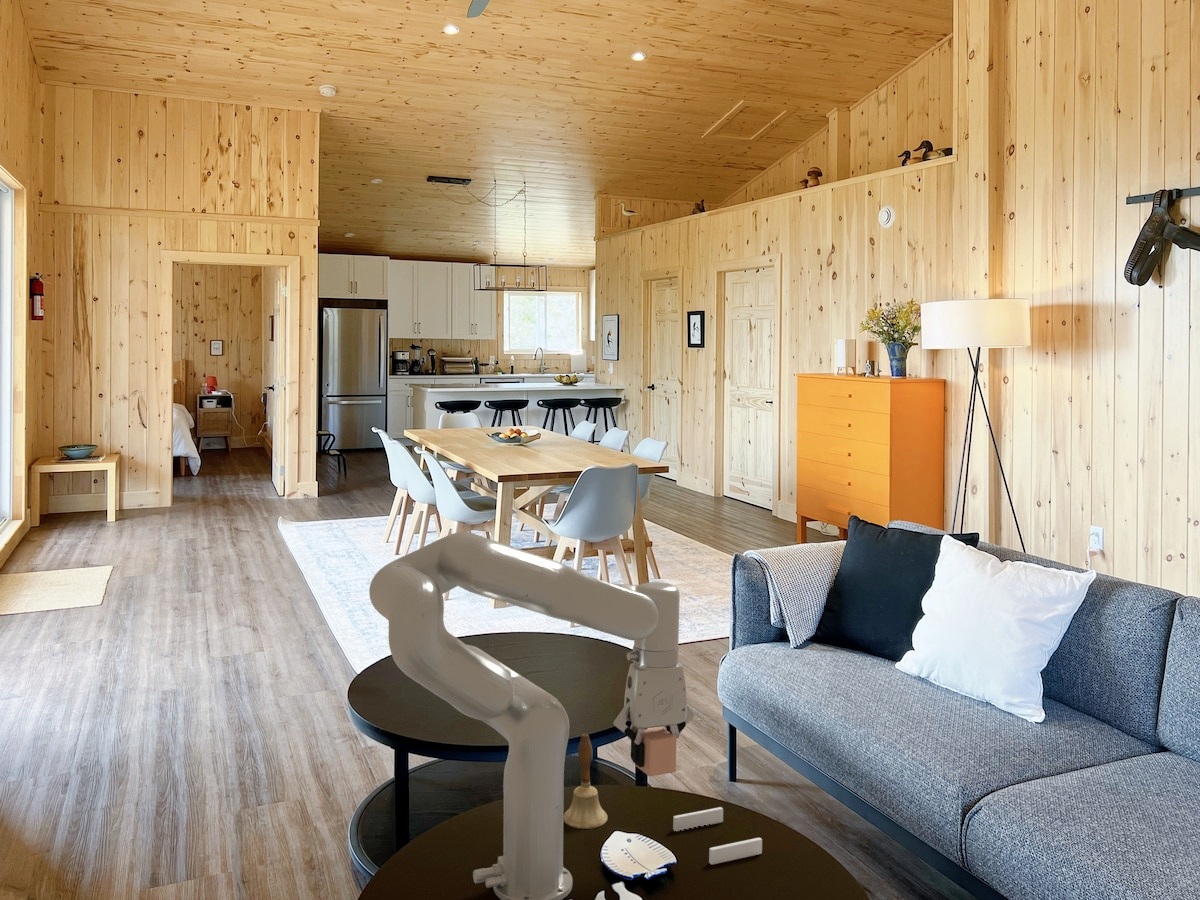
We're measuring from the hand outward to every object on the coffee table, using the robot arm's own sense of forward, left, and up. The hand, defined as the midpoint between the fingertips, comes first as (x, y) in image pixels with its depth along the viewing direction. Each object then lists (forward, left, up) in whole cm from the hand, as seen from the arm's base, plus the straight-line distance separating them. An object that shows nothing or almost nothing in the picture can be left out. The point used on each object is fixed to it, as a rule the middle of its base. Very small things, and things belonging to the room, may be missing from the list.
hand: (653, 760), depth 156 cm
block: (0, -1, -1) cm, 1 cm away
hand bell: (-5, +17, -17) cm, 24 cm away
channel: (+13, 0, -16) cm, 21 cm away
